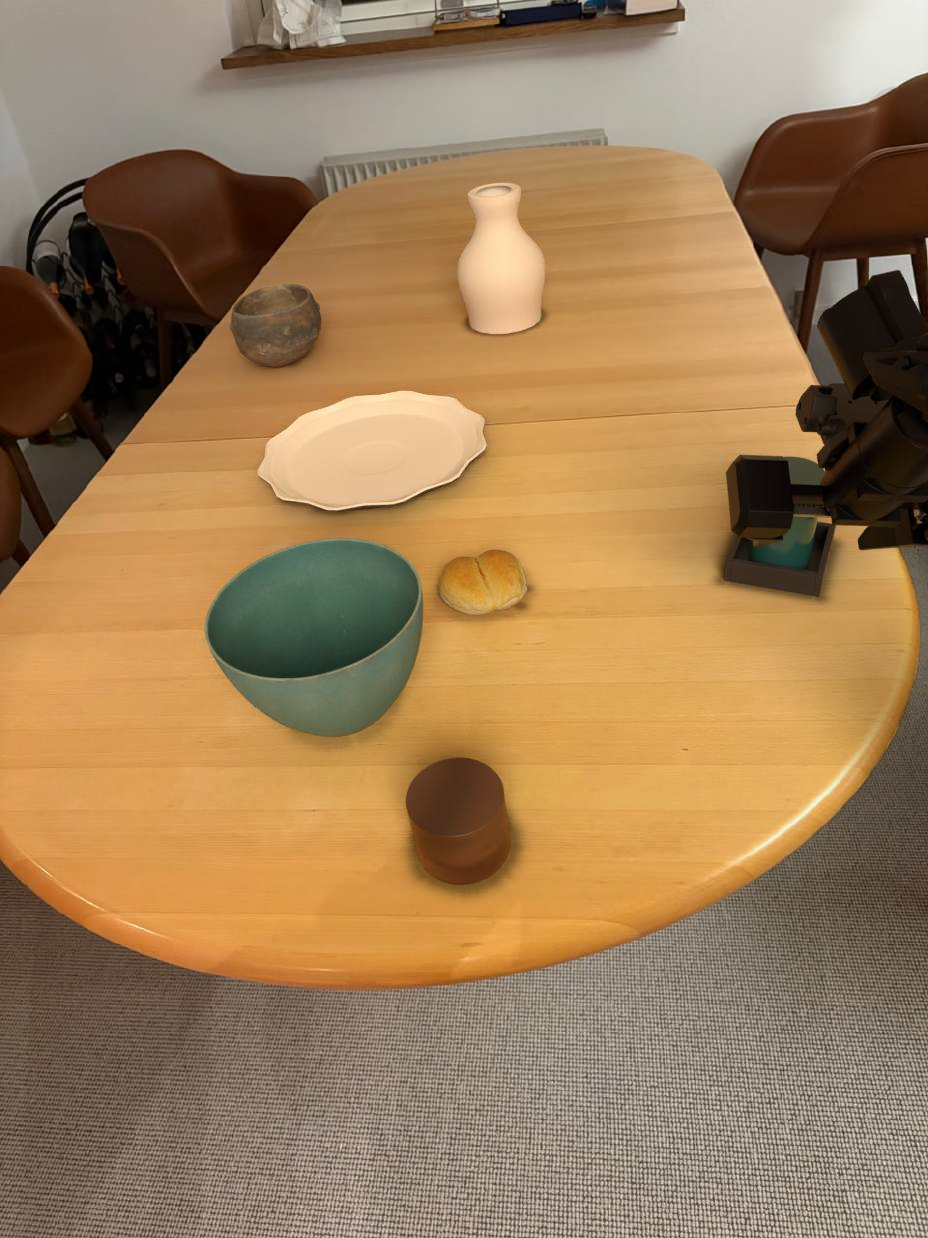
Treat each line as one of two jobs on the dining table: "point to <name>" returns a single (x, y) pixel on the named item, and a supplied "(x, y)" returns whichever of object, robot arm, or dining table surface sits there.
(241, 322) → the bowl
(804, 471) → the teal cylinder
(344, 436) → the plate
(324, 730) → the teal bowl
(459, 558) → the bread roll
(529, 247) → the vase
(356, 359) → the dining table surface
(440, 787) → the stand
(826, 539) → the dark square tray
